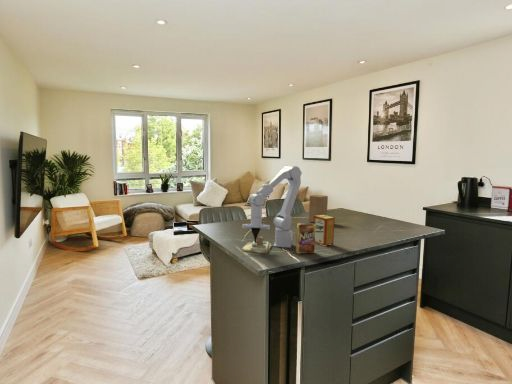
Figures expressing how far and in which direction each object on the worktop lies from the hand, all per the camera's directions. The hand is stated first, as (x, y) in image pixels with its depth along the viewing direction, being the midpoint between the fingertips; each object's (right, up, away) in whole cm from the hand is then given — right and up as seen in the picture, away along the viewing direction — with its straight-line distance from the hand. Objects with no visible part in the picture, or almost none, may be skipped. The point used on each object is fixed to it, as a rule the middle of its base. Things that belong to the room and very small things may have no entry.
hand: (255, 241), depth 173 cm
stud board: (+1, -4, 0) cm, 4 cm away
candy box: (+25, -5, -5) cm, 27 cm away
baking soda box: (+38, -3, +13) cm, 41 cm away
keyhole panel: (+2, -3, 0) cm, 3 cm away
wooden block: (+47, +4, +72) cm, 86 cm away
